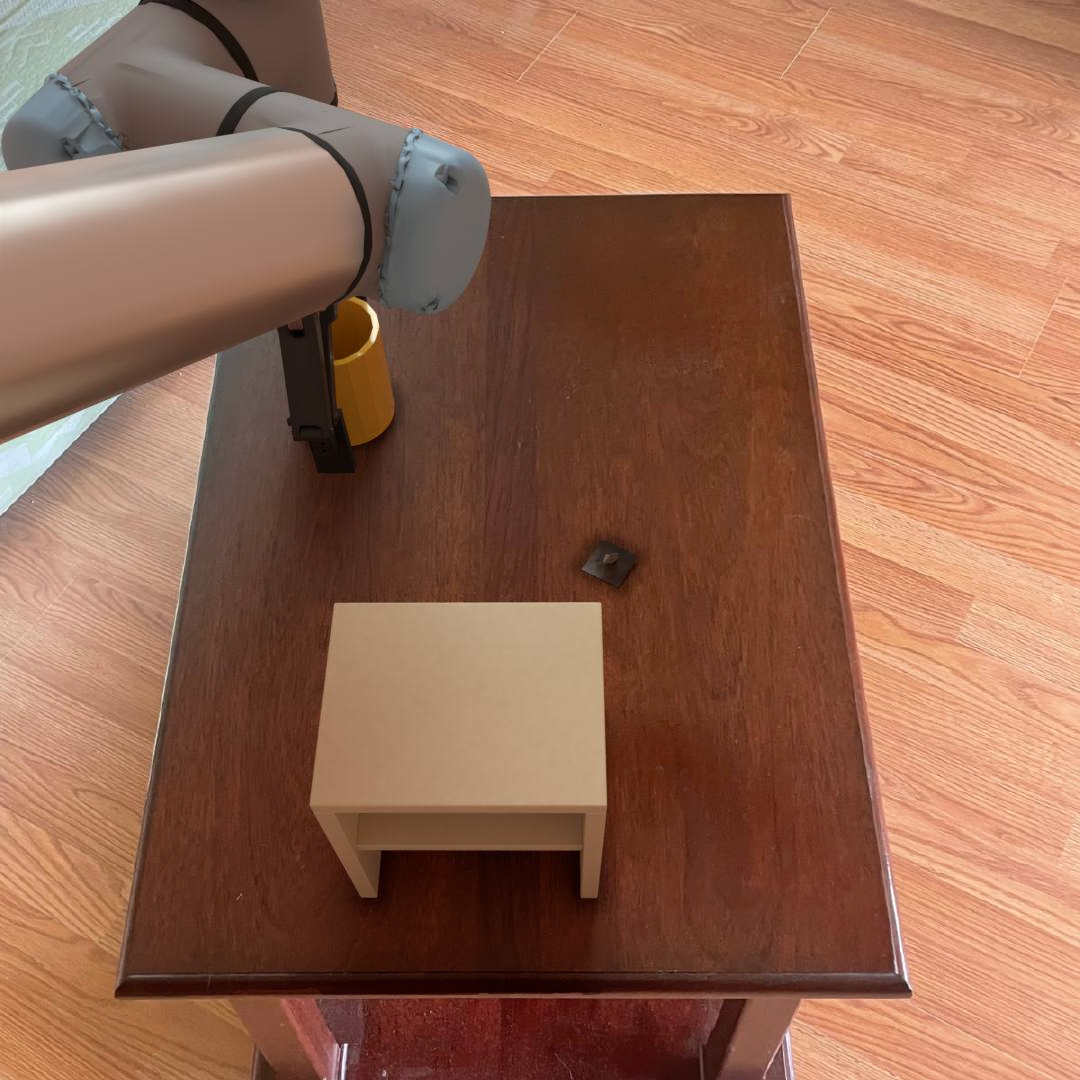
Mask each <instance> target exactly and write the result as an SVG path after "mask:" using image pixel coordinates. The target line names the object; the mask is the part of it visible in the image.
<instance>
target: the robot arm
mask: <svg viewBox="0 0 1080 1080" xmlns="http://www.w3.org/2000/svg"><path fill="white" fill-rule="evenodd" d="M332 70H333V69H332V63H331V57H330V51H329V45H328V40H327V33H326V27H325V21H324V16H323V10H322V3H321V0H139V1H138V4H137V5H136V6H134V8H132V9H131V10H130V11H128V13H126V14H125V15H124V16H123V17H121V18H120V19H119V20H118V21H116V22H115V23H114V24H113V25H112V26H111V27H109V28H108V29H107V30H106V31H104V32H103V33H102V34H100V36H99V37H97V38H96V39H95V40H93V41H92V42H90V44H89V45H87V46H86V47H85V48H84V49H82V50H80V52H79V53H77V54H76V55H75V56H74V57H72V59H70V60H69V61H68V62H66V63H65V64H64V65H62V67H60V68H59V69H58V70H57V71H54V72H53V73H49V74H48V75H47V76H45V78H44V81H43V85H41V87H40V88H39V89H38V90H36V91H35V93H34V94H33V95H32V96H31V97H29V99H27V101H25V102H24V103H23V104H22V105H21V106H20V107H19V108H18V109H17V111H15V112H14V113H13V114H12V115H11V116H10V117H9V119H8V120H7V121H6V123H5V124H4V127H3V130H2V133H1V139H0V147H1V148H0V149H1V154H2V158H3V162H4V165H5V167H6V169H7V170H6V171H0V446H1V445H4V444H6V443H8V442H10V441H13V440H16V439H19V438H20V437H23V436H25V435H27V434H29V433H31V432H34V431H37V430H39V429H42V428H43V427H46V426H48V425H51V424H54V423H56V422H58V421H61V420H63V419H65V418H67V417H70V416H73V415H74V414H77V413H79V412H82V411H84V410H87V409H90V408H91V407H93V406H96V405H99V404H101V403H103V402H105V401H108V400H110V399H113V398H115V397H117V396H119V395H121V394H125V393H127V392H129V391H131V390H134V389H136V388H139V387H141V386H144V385H146V384H148V383H151V382H153V381H155V380H158V379H160V378H162V377H165V376H167V375H169V374H172V373H175V372H176V371H179V370H182V369H185V368H187V367H188V366H191V365H193V364H195V363H198V362H201V361H203V360H206V359H208V358H210V357H212V356H214V355H217V354H220V353H222V352H224V351H226V350H228V349H232V348H234V347H236V346H238V345H241V344H243V343H245V342H248V341H250V340H252V339H255V338H257V337H260V336H262V335H264V334H267V333H269V332H272V331H274V330H276V331H277V334H278V340H279V341H278V342H279V347H280V348H279V349H280V355H281V362H282V370H283V375H284V376H283V377H284V382H285V383H284V384H285V391H286V398H287V405H288V413H289V416H288V417H287V418H286V424H287V426H288V427H291V436H292V440H293V441H294V442H307V443H308V445H309V449H310V452H311V455H312V457H313V461H314V464H315V467H316V471H317V474H320V475H321V474H324V475H325V474H329V475H332V474H356V471H357V462H356V458H355V454H354V451H353V446H351V443H350V439H349V435H348V431H347V428H346V424H345V420H344V416H343V412H342V409H341V408H337V404H336V388H335V372H334V356H333V341H332V322H334V321H335V320H336V319H337V318H338V303H340V302H343V301H345V300H347V299H350V298H352V297H356V298H358V299H360V300H363V301H365V302H366V303H367V304H368V305H369V303H368V298H369V299H370V300H373V301H375V302H377V303H379V305H380V306H382V307H386V308H387V309H392V308H396V309H400V310H404V311H407V312H412V313H414V314H419V315H423V316H433V315H436V314H440V313H442V312H443V311H446V310H447V309H449V308H450V307H451V306H453V304H454V303H455V302H457V301H458V300H459V298H460V297H461V295H462V294H463V293H464V292H465V290H466V289H467V288H468V286H469V284H470V282H471V280H472V279H473V277H474V275H475V273H476V270H477V269H478V266H479V264H480V261H481V259H482V256H483V254H484V250H485V246H486V242H487V237H488V232H489V228H490V220H491V210H492V194H491V187H490V182H489V181H490V180H489V178H488V175H487V172H486V170H485V168H484V166H483V165H482V163H481V162H480V160H479V159H478V158H476V156H474V155H473V154H472V153H471V152H469V151H467V150H465V149H463V148H462V147H461V148H460V147H458V146H455V145H453V144H451V143H449V142H446V141H445V140H441V139H439V138H437V137H434V136H432V135H429V134H428V133H425V132H423V130H422V129H421V128H419V127H415V126H412V127H411V128H407V127H403V126H400V125H397V124H394V123H390V122H388V121H384V120H380V119H377V118H375V117H371V116H368V115H364V114H361V113H358V112H354V111H351V110H348V109H344V108H341V107H340V102H339V98H338V97H339V95H338V90H337V89H338V88H337V84H336V81H335V78H334V75H333V71H332ZM324 308H326V310H321V309H324Z"/></svg>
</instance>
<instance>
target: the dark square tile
mask: <svg viewBox="0 0 1080 1080" xmlns="http://www.w3.org/2000/svg"><path fill="white" fill-rule="evenodd" d="M638 557H639V555H637V554H635V553H633V552H631V551H629V550H626V549H625V548H623V547H620V546H619V545H617V544H615V543H612V542H610V541H608V540H605V539H601V541H599V542H598V544H597V545H596V546H595V548H594V549H593V551H592V553H591V555H590V556H589V558H588V560H587V561H586V562H585V564H584V565H583V566H582V568H581V570H582V571H584V572H586V573H587V574H589V575H592V576H594V577H596V578H597V579H599V580H602V581H603V582H606V583H608V584H610V585H612V586H613V587H616V588H618V589H619V588H620V586H621V584H622V583H623V581H624V580H625V577H626V576H627V575H628V573H629V572H630V570H631V569H632V568H633V565H635V564H634V563H635V562H636V561H637V559H638Z"/></svg>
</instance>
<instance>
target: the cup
mask: <svg viewBox="0 0 1080 1080" xmlns="http://www.w3.org/2000/svg"><path fill="white" fill-rule="evenodd" d="M321 310H326V308H324V309H321ZM332 341H333V356H334V372H335V388H336V404H337V408H341V409H342V412H343V416H344V420H345V424H346V428H347V431H348V435H349V439H350V443H351V447H354V446H360V445H363V444H365V443H368V442H371V441H372V440H374V439H376V438H377V437H379V436H380V435H382V434H383V433H384V432H385V431H386V429H388V427H389V425H390V424H391V422H392V420H393V418H394V415H395V409H396V408H395V407H396V406H395V398H394V394H393V393H394V392H393V388H392V383H391V378H390V373H389V368H388V363H387V358H386V351H385V347H384V342H383V337H382V331H381V326H380V321H379V317H378V313H377V312H376V311H375V310H374V309H373V308H372V307H371V306H370V304H369V303H368V304H367V303H366V302H365V301H363V300H360V299H358V298H356V297H352V298H350V299H347V300H345V301H343V302H340V303H338V318H337V319H336V320H335V321H334V322H332Z"/></svg>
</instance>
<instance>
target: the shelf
mask: <svg viewBox="0 0 1080 1080" xmlns="http://www.w3.org/2000/svg"><path fill="white" fill-rule="evenodd" d="M602 605H603V604H602V602H598V601H596V602H594V601H593V602H592V601H591V602H586V601H585V602H583V601H582V602H579V601H578V602H571V601H569V602H567V601H566V602H565V601H563V602H559V601H558V602H552V601H551V602H547V601H546V602H335V603H334V604H333V611H332V616H331V617H332V618H331V627H330V635H329V642H328V652H327V657H326V659H327V660H326V667H325V675H324V683H323V691H322V700H321V707H320V717H319V723H318V724H319V725H318V732H317V741H316V747H315V748H316V749H315V757H314V765H313V772H312V781H311V789H310V796H309V797H310V798H309V808H310V809H311V811H312V813H313V815H314V817H315V818H316V820H317V822H318V824H319V825H320V827H321V829H322V831H323V833H324V834H325V836H326V838H327V840H328V842H329V844H330V845H331V847H332V849H333V850H334V853H335V854H336V855H337V857H338V859H339V861H340V863H341V864H342V866H343V868H344V871H346V873H347V875H348V877H349V879H350V880H351V882H352V884H353V886H354V888H355V889H356V891H357V893H358V895H359V896H360V898H377V897H378V895H379V893H378V892H379V880H380V871H381V870H380V869H381V857H382V851H579V885H580V891H579V892H580V898H581V899H597V898H599V897H598V896H599V886H600V877H601V866H602V858H603V848H604V840H605V838H604V837H605V831H606V822H607V821H606V820H607V819H606V818H607V810H608V792H607V791H608V790H607V788H608V787H607V753H606V718H605V717H606V716H605V714H606V711H605V685H604V684H605V683H604V682H605V680H604V679H605V678H604V648H603V647H604V645H603V642H604V641H603V608H602V607H603V606H602Z"/></svg>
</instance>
